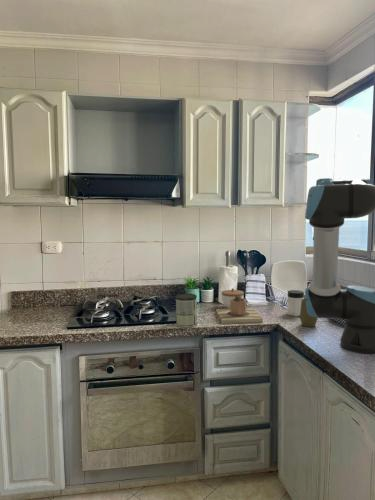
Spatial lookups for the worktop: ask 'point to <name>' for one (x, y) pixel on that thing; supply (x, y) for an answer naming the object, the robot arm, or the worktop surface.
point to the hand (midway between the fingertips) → (323, 256)
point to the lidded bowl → (230, 296)
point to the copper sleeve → (238, 307)
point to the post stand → (238, 316)
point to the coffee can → (186, 310)
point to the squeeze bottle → (306, 315)
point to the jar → (295, 302)
